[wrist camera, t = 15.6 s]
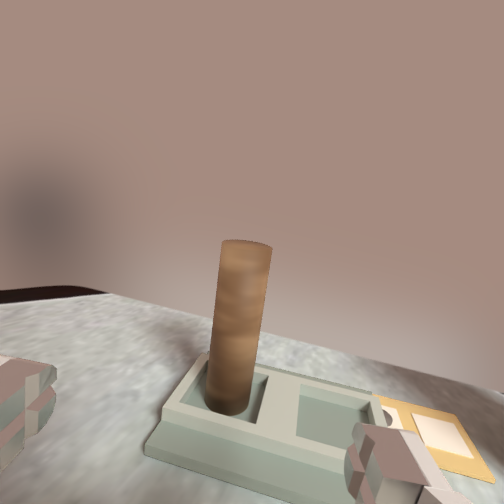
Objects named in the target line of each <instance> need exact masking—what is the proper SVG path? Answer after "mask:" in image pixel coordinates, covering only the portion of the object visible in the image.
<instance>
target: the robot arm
mask: <svg viewBox="0 0 504 504" xmlns="http://www.w3.org/2000/svg"><path fill="white" fill-rule="evenodd" d="M56 380H57V368H55V367H54V366H53V365H50V364H45V363H40V362H35V361H31V360H26V359H21V358H15V357H10V356H5V355H1V354H0V473H1V472H2V471H3V470H4V469H5V468H6V467H7V466H8V465H9V464H10V463H11V462H12V460H13V459H14V458H15V457H16V456H17V455H18V454H19V453H20V452H21V451H22V450H23V449H24V440H25V439H27V438H29V437H31V436H33V435H35V434H37V433H38V432H39V431H40V430H41V429H42V428H43V427H44V425H45V424H46V423H47V421H48V419H49V418H50V416H51V414H52V412H53V410H54V406H55V402H56V393H55V391H54V390H53V388H52V387H51V385H52V384H53V383H54V382H55V381H56ZM351 435H352V438H353V441H354V443H353V444H352V445H351V446H349V447H348V448H347V450H346V454H345V458H344V476H345V482H346V486H347V490H348V492H349V493H350V494H351V495H352V497H353V498H354V499H355V500H356V501H355V504H473V503H472V502H471V501H470V500H468V499H467V498H466V497H465V496H464V495H462V494H461V493H459V492H454V491H453V489H452V488H451V486H450V485H449V483H448V481H447V480H446V478H445V477H444V475H443V473H442V472H441V470H440V469H439V467H438V465H437V464H436V462H435V461H434V459H433V457H432V456H431V454H430V453H429V451H428V449H427V448H426V446H425V445H424V443H423V441H422V440H421V438H420V437H419V435H418V434H417V433H415V432H414V431H409V430H403V429H397V428H394V429H393V428H388V427H382V426H377V425H371V424H366V423H360V422H357V423H356V424H355V425H354V427H353V430H352V434H351Z"/></svg>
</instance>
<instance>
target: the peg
mask: <svg viewBox="0 0 504 504" xmlns="http://www.w3.org/2000/svg"><path fill="white" fill-rule="evenodd" d="M271 255H272V248H271V247H270V246H268V245H265V244H262V243H258V242H253V241H246V240H225V241H223V242H222V247H221V256H220V265H219V273H218V282H217V291H216V300H215V309H214V318H213V327H212V336H211V344H210V353H209V362H208V371H207V380H206V389H205V398H204V400H205V404H206V406H207V407H208V408H209V409H210V410H211V411H212V412H215V413H218V414H222V415H225V416H235V415H238V414H241V413H242V412H244V411H245V410H246V409H247V407H248V405H249V401H250V394H251V387H252V381H253V374H254V367H255V361H256V354H257V347H258V341H259V334H260V327H261V320H262V314H263V307H264V301H265V293H266V288H267V281H268V274H269V268H270V261H271Z"/></svg>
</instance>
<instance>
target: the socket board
mask: <svg viewBox="0 0 504 504" xmlns="http://www.w3.org/2000/svg"><path fill="white" fill-rule="evenodd" d="M209 353H210V351H208V353H207V354H205V353H201V354H200V356H199V357H198V359H197V360H196V361H195V363H194V364H193V366H192V367H191V368H190V370H189V371H188V372H187V374H186V375H185V377H184V378H183V379H182V381H181V382H180V384H179V385H178V386H177V388H176V389H175V390H174V392H173V393H172V395H171V396H170V397H169V399H168V400H167V402H166V403H165V404H164V406H163V407H162V419H161V421H160V423H159V424H158V426H157V427H156V428H155V430H154V431H153V433H152V434H151V436H150V437H149V439H148V440H147V442H146V443H145V448H144V455H146V456H149V457H152V458H155V459H158V460H161V461H164V462H167V463H170V464H173V465H176V466H179V467H183V468H186V469H189V470H192V471H195V472H198V473H201V474H204V475H207V476H210V477H213V478H216V479H219V480H222V481H225V482H228V483H231V484H234V485H237V486H240V487H244V488H247V489H250V490H253V491H256V492H259V493H262V494H265V495H268V496H271V497H274V498H277V499H280V500H283V501H286V502H289V503H292V504H355V501H356V500H355V499H354V498H353V497H352V495H351V494H350V493H349V492H348V490H347V486H346V482H345V476H344V458H345V454H346V450H347V448H348V447H349V446H351V445H352V444H353V443H354V441H353V438H352V435H351V434H352V430H353V427H354V425H355V424H356V423H357V422H360V423H366V424H371V425H377V426H382V427H387V423H386V420H385V417H384V413H383V410H382V407H381V403H380V400H379V397H376V396H372V392H370V391H366V390H362V389H358V388H354V387H350V386H346V385H342V384H338V383H334V382H330V381H326V380H322V379H318V378H314V377H310V376H306V375H302V374H298V373H294V372H290V371H286V370H282V369H278V368H274V367H270V366H266V365H262V364H258V363H255V367H254V374H253V381H252V387H251V394H250V401H249V405H248V407H247V409H246V410H245V411H244V412H242V413H241V414H238V415H235V416H225V415H222V414H218V413H215V412H212V411H211V410H210V409H209V408H208V407H207V406H206V404H205V400H204V398H205V389H206V380H207V371H208V362H209Z"/></svg>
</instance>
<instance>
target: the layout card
mask: <svg viewBox="0 0 504 504" xmlns="http://www.w3.org/2000/svg"><path fill="white" fill-rule="evenodd" d="M372 396H376V397H379V400H380V403H381V407H382V410H383V413H384V417H385V420H386V423H387V427H388V428H393V429H394V428H397V429H403V430H409V431H414V432H415V433H417V434H418V435H419V437H420V438H421V440H422V441H423V443H424V445H425V446H426V448H427V449H428V451H429V453H430V454H431V456H432V457H433V459H434V461H435V462H436V464H437V465H438V467H439V468H440V469H444V470H447V471H451V472H454V473H458V474H462V475H465V476H469V477H472V478H476V479H479V480H483V481H486V482H490V483H493V484H494V483H495V481H496V480H495V478H494V476H493V475H492V473H491V472H490V470H489V468H488V467H487V465H486V464H485V462H484V460H483V459H482V457H481V455H480V454H479V452H478V451H477V449H476V447H475V446H474V444H473V443H472V441H471V439H470V438H469V436H468V435H467V433H466V431H465V430H464V428H463V426H462V425H461V423H460V422H459V420H458V418H457V417H456V415H455V414H451V413H447V412H443V411H439V410H435V409H431V408H427V407H423V406H419V405H415V404H411V403H407V402H403V401H399V400H395V399H391V398H387V397H383V396H379V395H375V394H372Z"/></svg>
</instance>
